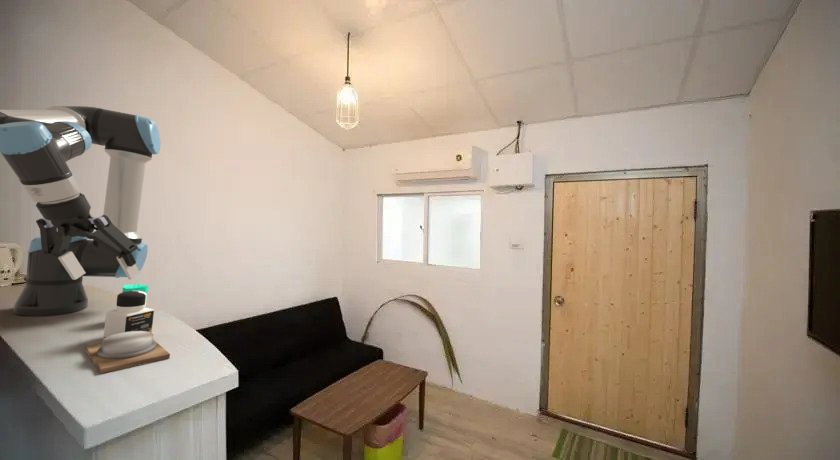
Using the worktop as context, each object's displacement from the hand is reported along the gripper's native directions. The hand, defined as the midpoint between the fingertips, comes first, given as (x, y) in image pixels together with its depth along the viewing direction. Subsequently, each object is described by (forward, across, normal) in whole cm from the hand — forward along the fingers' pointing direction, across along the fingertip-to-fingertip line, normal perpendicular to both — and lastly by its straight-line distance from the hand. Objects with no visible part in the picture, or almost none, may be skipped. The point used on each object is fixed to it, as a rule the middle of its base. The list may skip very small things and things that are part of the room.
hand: (106, 276), depth 79 cm
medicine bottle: (+19, -2, -2) cm, 19 cm away
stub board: (+15, +7, -11) cm, 20 cm away
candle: (+24, -11, +8) cm, 27 cm away
